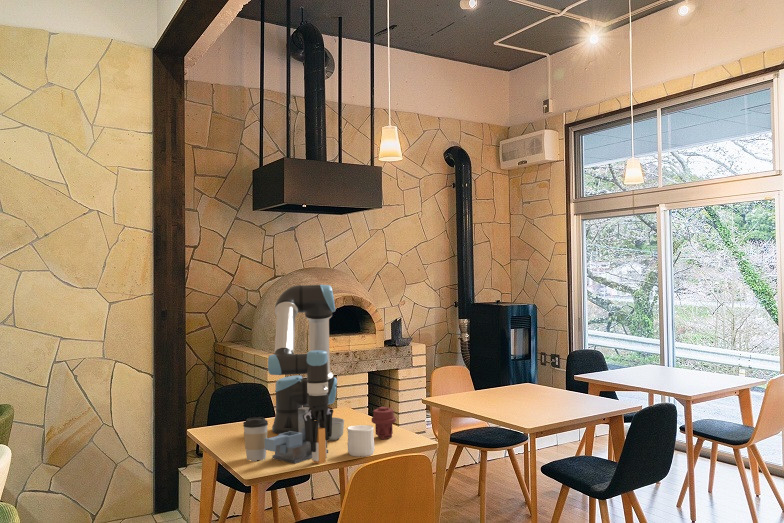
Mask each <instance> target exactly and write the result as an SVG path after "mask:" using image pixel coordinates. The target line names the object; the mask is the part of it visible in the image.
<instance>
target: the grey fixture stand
mask: <svg viewBox="0 0 784 523" xmlns="http://www.w3.org/2000/svg"><path fill="white" fill-rule="evenodd" d="M308 410H309V406H303V407H302V408H298V428H299V433H302V444H301V445H297V446H294V447H291V448H289V447H286V453H285V454H284V453H280V446H279V445H277V446H276V451H275V452H274V454H272V459H273V458H274V460H278V461H281V462H285V463H290V464H294V465H296V464H299V463H301V462H304V461H308V460H310V459H311V460H312V452H311V443H310V442H307V441H306V435H305V423H304V419H303V415H306V414H307V413H308ZM327 454H329V449H327Z"/></svg>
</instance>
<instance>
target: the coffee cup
mask: <svg viewBox="0 0 784 523" xmlns="http://www.w3.org/2000/svg"><path fill="white" fill-rule="evenodd" d="M268 422H269V421H268V420H267V419H266V418H265V417H263V416H258V417H257V416H255V417H249V418H246V420H245V421H244V422H243V423H242V424H243V425H242V427H243V438H244V447H245V454H246V461H248V460H251V461H250V462H258V461H257V460H261V461H264V460H266V459H267V450H265V438H268V432H269V431H268V425H269V423H268ZM265 458H266V459H265ZM263 459H264V460H263Z"/></svg>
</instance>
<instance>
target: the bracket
mask: <svg viewBox="0 0 784 523" xmlns="http://www.w3.org/2000/svg"><path fill="white" fill-rule="evenodd" d="M301 444H302V433H299V432H294V431H289V432H285V433H281V434H277V435H276V436H272V437H267V438H265V450H266V451H269V452H272V453H273V452H274V453H275V451H276V446H277V445H279V446H280V453H284V454H285V453H286V447H289V448H291V447H294V446H297V445H301Z"/></svg>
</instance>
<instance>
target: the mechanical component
mask: <svg viewBox="0 0 784 523" xmlns="http://www.w3.org/2000/svg"><path fill="white" fill-rule="evenodd" d="M394 412H395V410H394V409H393V408H389V407H388V406H379V407H378V408H376V409H373V417H372V418H371V423H372V424H375V425H374V426H375V427H374V428H375V435H376V436H377V437H378V438H380V440H385V439H390V438H392V437H393V432H394V431H393V424H394V423H396V421H397V418H396V416H395V413H394Z"/></svg>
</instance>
